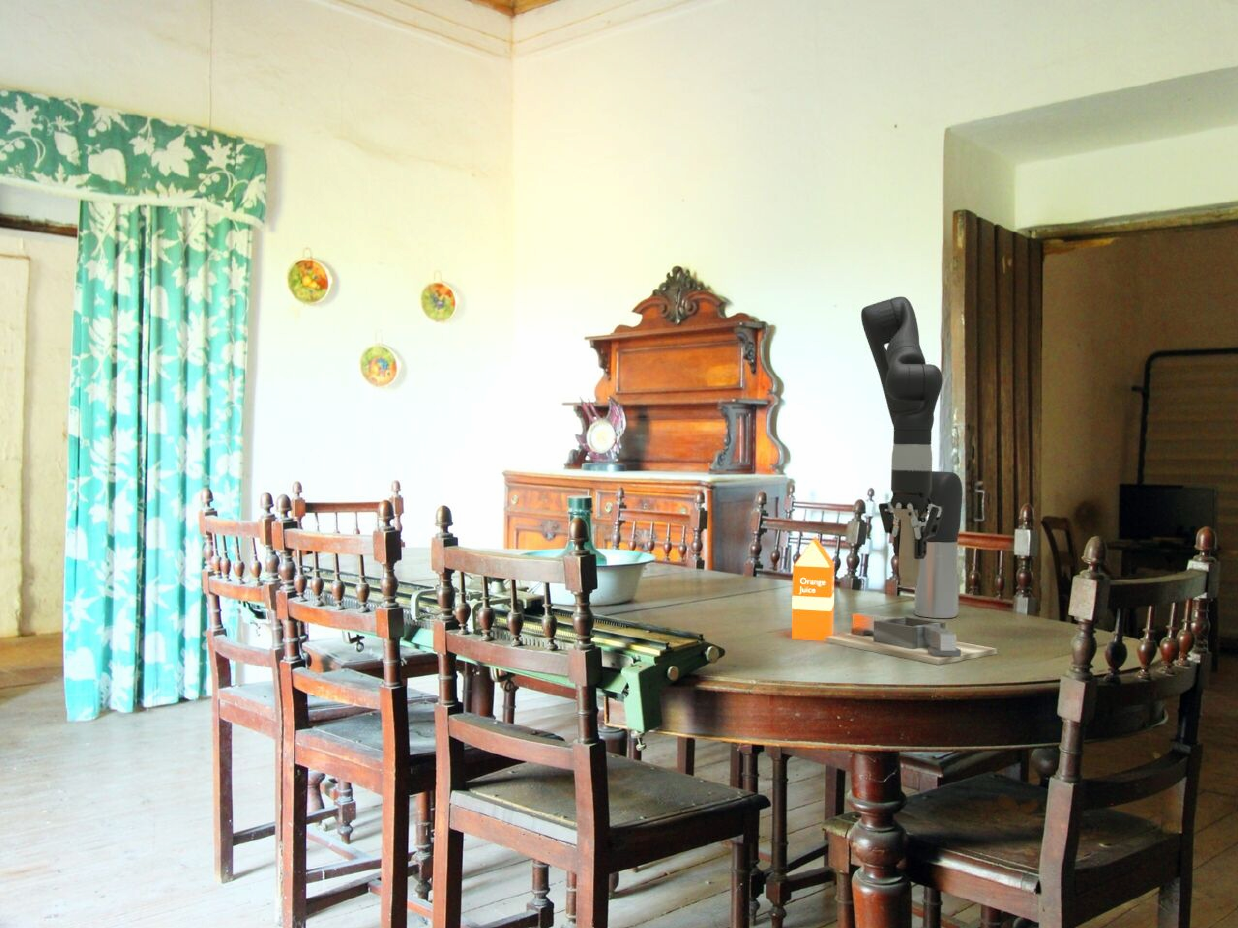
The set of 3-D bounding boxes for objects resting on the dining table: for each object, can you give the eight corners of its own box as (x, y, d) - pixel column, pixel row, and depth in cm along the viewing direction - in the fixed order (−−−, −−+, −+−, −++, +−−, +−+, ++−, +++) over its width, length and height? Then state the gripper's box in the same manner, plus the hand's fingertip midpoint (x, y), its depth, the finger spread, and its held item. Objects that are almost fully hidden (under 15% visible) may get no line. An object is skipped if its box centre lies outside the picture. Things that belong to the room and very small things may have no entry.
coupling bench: (883, 632, 214) (884, 608, 214) (996, 653, 193) (997, 627, 193) (825, 641, 203) (826, 616, 203) (938, 665, 182) (939, 636, 182)
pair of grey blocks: (865, 631, 210) (865, 611, 210) (979, 652, 189) (980, 631, 189) (832, 636, 203) (832, 616, 203) (947, 659, 183) (947, 636, 183)
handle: (891, 584, 201) (893, 507, 201) (926, 586, 199) (927, 508, 199) (890, 587, 197) (892, 508, 196) (926, 589, 195) (927, 510, 195)
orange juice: (833, 633, 213) (835, 536, 212) (830, 640, 204) (832, 540, 204) (795, 631, 215) (797, 535, 215) (790, 638, 206) (792, 538, 206)
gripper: (955, 469, 194) (953, 560, 195) (893, 467, 206) (891, 553, 206) (931, 469, 190) (928, 562, 190) (869, 467, 201) (867, 555, 201)
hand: (909, 557), depth 198 cm, fingers closed on handle, 4 cm apart
